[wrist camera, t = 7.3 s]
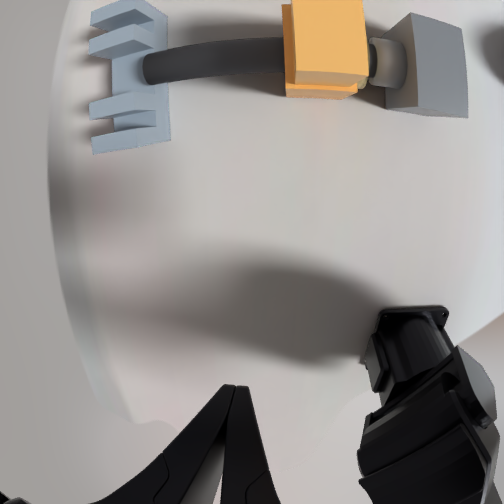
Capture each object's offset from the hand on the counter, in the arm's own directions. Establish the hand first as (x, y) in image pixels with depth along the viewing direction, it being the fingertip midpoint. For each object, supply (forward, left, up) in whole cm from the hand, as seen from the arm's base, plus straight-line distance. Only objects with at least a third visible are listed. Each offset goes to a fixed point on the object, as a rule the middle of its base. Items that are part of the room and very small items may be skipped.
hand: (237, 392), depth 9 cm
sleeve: (-3, -12, -12) cm, 17 cm away
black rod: (-1, -12, -10) cm, 16 cm away
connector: (-9, -12, -12) cm, 19 cm away
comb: (+8, -12, -12) cm, 18 cm away
